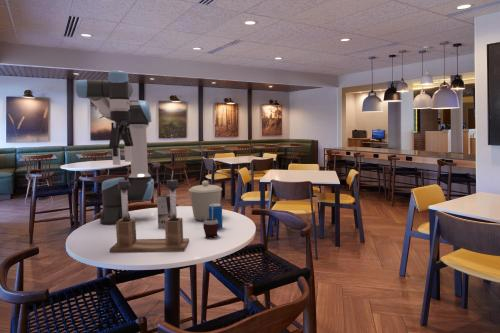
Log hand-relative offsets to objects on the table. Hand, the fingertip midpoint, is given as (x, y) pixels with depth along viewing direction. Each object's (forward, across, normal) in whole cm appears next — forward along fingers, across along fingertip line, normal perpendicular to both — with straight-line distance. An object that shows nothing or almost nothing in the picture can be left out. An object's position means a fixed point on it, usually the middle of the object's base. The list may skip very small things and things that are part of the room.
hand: (122, 163), depth 143 cm
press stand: (+36, 0, -10) cm, 37 cm away
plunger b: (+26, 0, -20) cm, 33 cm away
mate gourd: (+36, +13, -34) cm, 51 cm away
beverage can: (+36, +25, -35) cm, 56 cm away
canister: (+36, +45, -28) cm, 64 cm away
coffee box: (+36, +31, -10) cm, 48 cm away
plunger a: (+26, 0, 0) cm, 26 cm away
